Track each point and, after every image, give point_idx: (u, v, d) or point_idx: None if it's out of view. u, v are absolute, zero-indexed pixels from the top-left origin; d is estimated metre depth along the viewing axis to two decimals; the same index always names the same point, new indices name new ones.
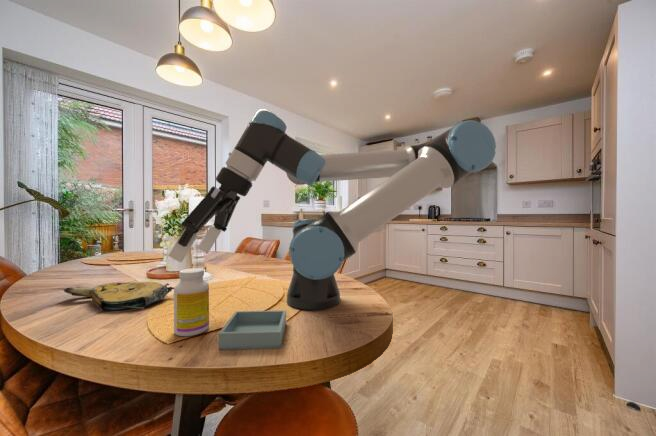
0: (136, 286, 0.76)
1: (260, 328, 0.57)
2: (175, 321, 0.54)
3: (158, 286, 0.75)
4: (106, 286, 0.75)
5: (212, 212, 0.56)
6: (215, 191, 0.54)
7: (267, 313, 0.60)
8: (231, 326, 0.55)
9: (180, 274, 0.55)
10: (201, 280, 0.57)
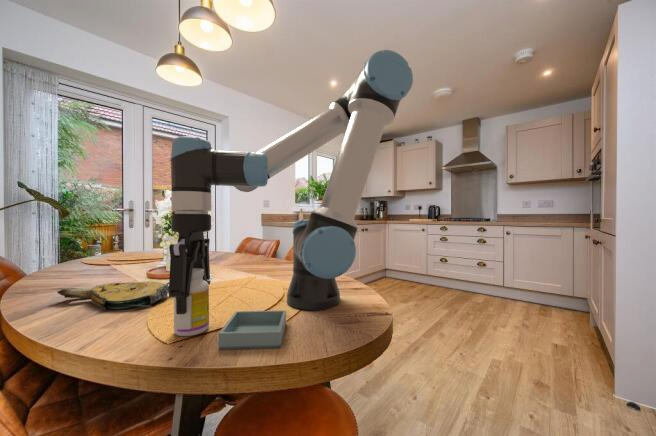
0: (137, 286, 0.76)
1: (260, 328, 0.57)
2: (175, 321, 0.54)
3: (160, 285, 0.77)
4: (105, 287, 0.75)
5: (189, 267, 0.53)
6: (175, 249, 0.50)
7: (267, 313, 0.60)
8: (231, 326, 0.55)
9: None
10: (201, 280, 0.57)
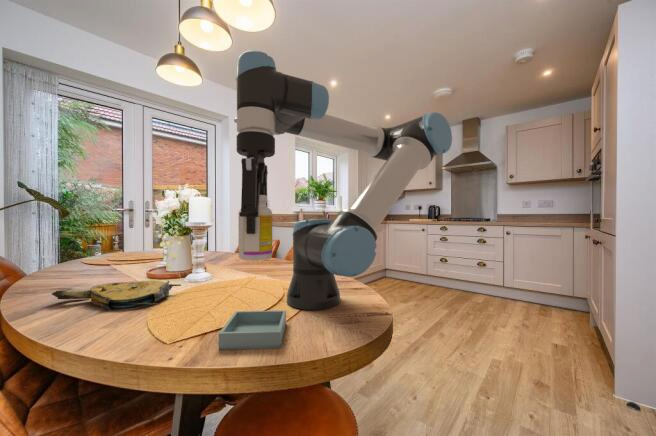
0: (137, 285, 0.77)
1: (260, 328, 0.57)
2: (241, 245, 0.52)
3: (161, 283, 0.78)
4: (103, 287, 0.74)
5: (257, 187, 0.51)
6: (247, 162, 0.48)
7: (267, 313, 0.60)
8: (231, 326, 0.55)
9: None
10: (265, 205, 0.54)
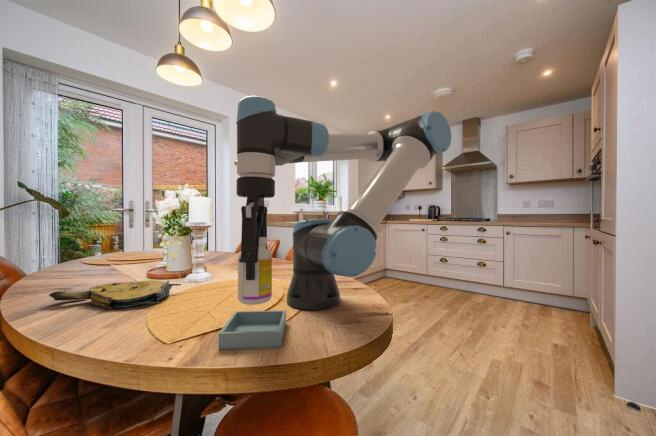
0: (137, 285, 0.77)
1: (260, 328, 0.57)
2: (241, 289, 0.52)
3: (162, 283, 0.79)
4: (103, 287, 0.74)
5: (257, 232, 0.51)
6: (247, 211, 0.48)
7: (267, 313, 0.60)
8: (231, 326, 0.55)
9: None
10: (265, 248, 0.55)
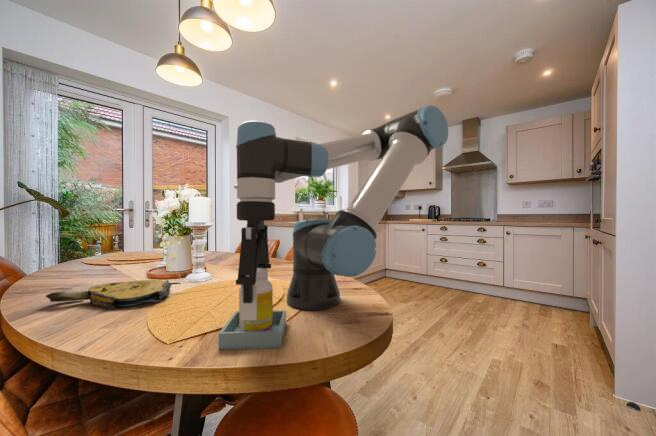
0: (137, 284, 0.78)
1: None
2: (242, 322, 0.53)
3: (162, 282, 0.80)
4: (102, 287, 0.74)
5: (256, 253, 0.50)
6: (247, 231, 0.48)
7: None
8: (231, 326, 0.55)
9: None
10: (266, 280, 0.55)
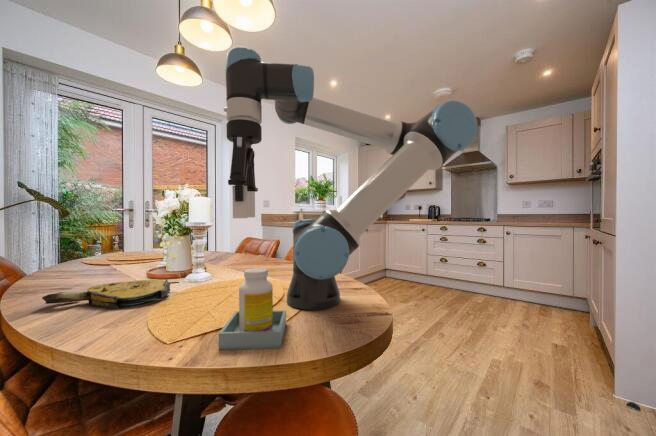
0: (137, 284, 0.78)
1: None
2: (242, 322, 0.53)
3: (162, 281, 0.81)
4: (101, 287, 0.74)
5: (245, 163, 0.56)
6: (238, 139, 0.54)
7: None
8: (231, 326, 0.55)
9: (246, 274, 0.53)
10: (266, 280, 0.55)
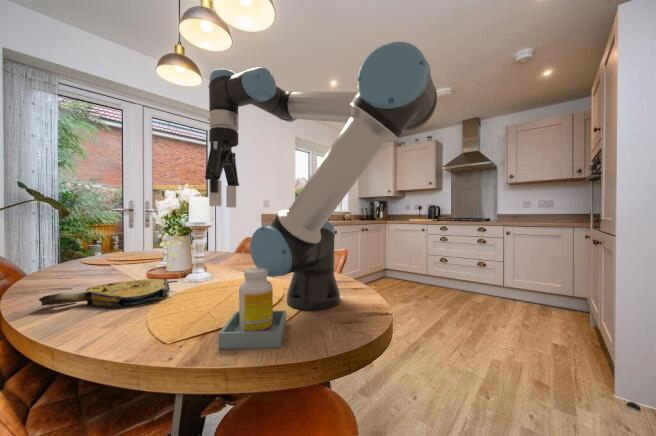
0: (136, 283, 0.78)
1: None
2: (242, 322, 0.53)
3: (161, 280, 0.82)
4: (100, 287, 0.73)
5: (221, 162, 0.70)
6: (214, 143, 0.68)
7: None
8: (231, 326, 0.55)
9: (246, 274, 0.53)
10: (266, 280, 0.55)
